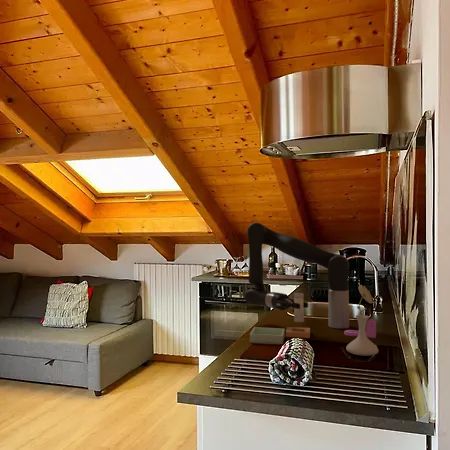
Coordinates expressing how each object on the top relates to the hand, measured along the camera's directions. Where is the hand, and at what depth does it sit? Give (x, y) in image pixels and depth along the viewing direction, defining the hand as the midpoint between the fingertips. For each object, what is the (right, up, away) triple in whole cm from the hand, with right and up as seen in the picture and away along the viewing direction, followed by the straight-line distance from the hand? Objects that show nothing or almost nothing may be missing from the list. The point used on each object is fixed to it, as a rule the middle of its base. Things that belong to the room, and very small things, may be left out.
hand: (303, 305), depth 193 cm
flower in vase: (+17, -13, -27) cm, 34 cm away
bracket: (+25, -13, +2) cm, 28 cm away
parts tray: (-16, -13, -7) cm, 22 cm away
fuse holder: (-2, -13, +2) cm, 13 cm away
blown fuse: (-2, -7, +2) cm, 8 cm away
